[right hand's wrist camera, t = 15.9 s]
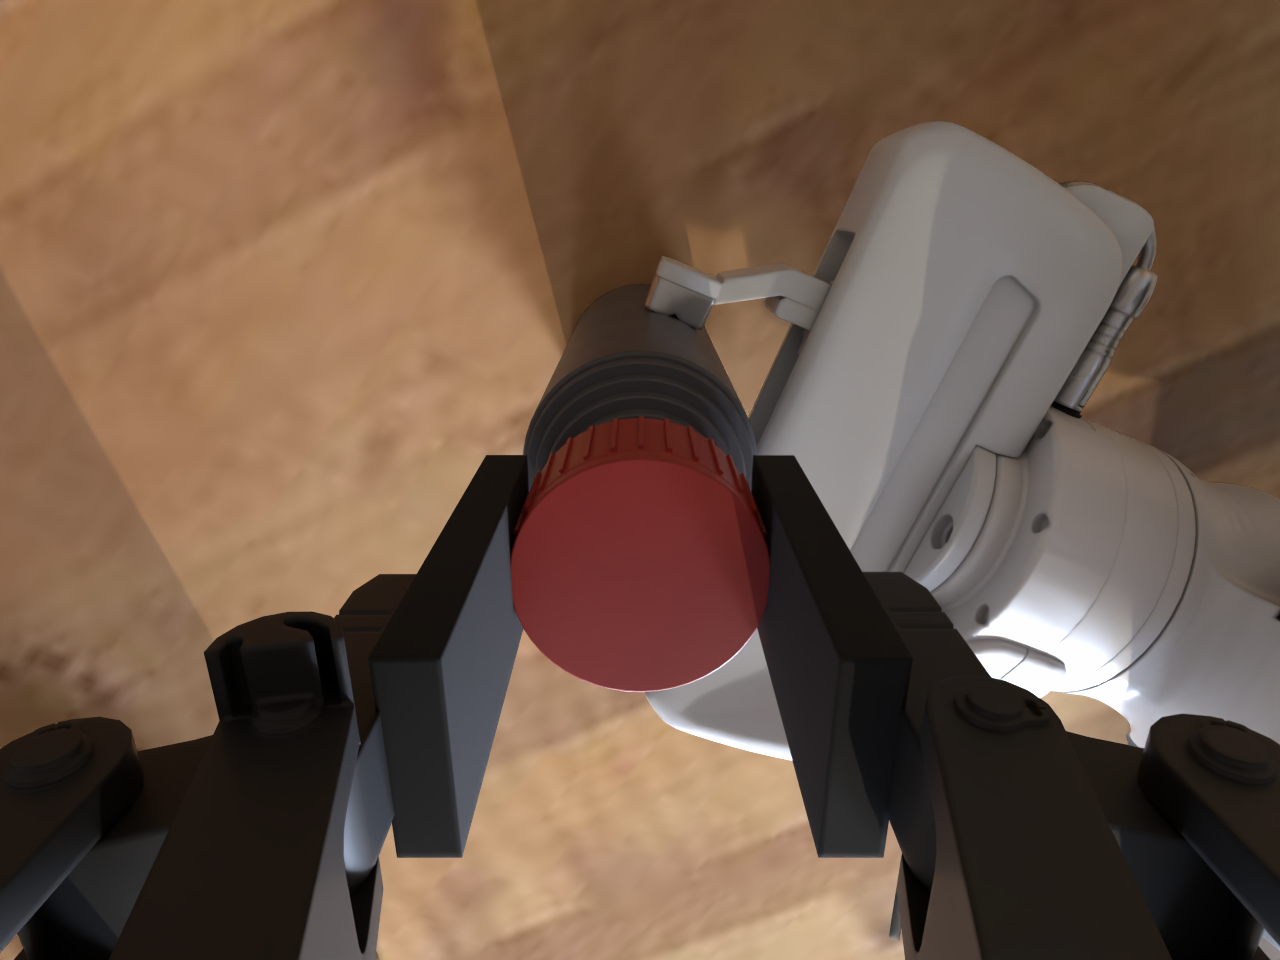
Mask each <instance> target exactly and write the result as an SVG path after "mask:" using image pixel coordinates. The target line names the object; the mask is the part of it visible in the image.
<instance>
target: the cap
mask: <svg viewBox="0 0 1280 960" xmlns="http://www.w3.org/2000/svg"><path fill="white" fill-rule="evenodd" d="M514 534H515V535H516V537H515V540H514V544H513V547H512V550H511V555H510V564H511V580H512V595H513V605H514V608H515V612H516V614H517V616H518V618H519V621H520V623H521V625H522V627H523V628H524V630H525V632H526V633H527V635H528V636H529V638H530V639H531V641H532V642H533V643H534V644H535V645H536V646H537V648H538V649H539V650H540V651H541V652H542V653H543V654H544V655H545V656H546V657H547V658H549V659H550V660H551V661H552V662H553V663H554V664H556V665H557V666H559V667H560V668H562V669H563V670H564V671H566V672H568V673H570V674H572V675H573V676H575V677H577V678H579V679H581V680H584V681H586V682H589V683H591V684H594V685H597V686H601V687H605V688H609V689H614V690H621V691H631V692H649V691H660V690H666V689H671V688H676V687H679V686H682V685H686V684H689V683H692V682H694V681H696V680H699V679H701V678H703V677H705V676H707V675H709V674H710V673H712V672H714V671H716V670H717V669H719V668H720V667H722V666H723V665H724V664H726V663H727V662H728V661H730V660H731V659H732V658H733V657H734V656H735V655H736V654H737V653H738V652H739V651H740V650H741V649H742V648H743V647H744V646H745V644H746V643H747V642H748V641H749V639H750V638H751V637H752V635H753V633H754V632H755V630H756V629H757V627H758V625H759V624H760V621H761V619H762V617H763V614H764V612H765V610H766V606H767V600H768V586H769V571H770V554H769V549H768V546H767V543H766V540H765V537H766V536H767V531H766V529H765V526H764V523H763V521H762V518H761V515H760V513H759V510H758V507H757V505H756V502H755V499H754V497H753V494H752V493H751V490H750V488H749V485H748V482H747V480H746V477H745V475H744V473H742V474H740V472H739V471H738V469H737V468H736V467H735V464H734V461H733V459H732V456H731V455H730V454H728V455H726V454H725V453H724V452H723V451H722V450H721V449H720V448H719V447H718V446H716V444H715V441H714V440H713V439H712V438H710V439H707V438H706V437H704V436H702V435H701V434H699V433H698V432H696V431H694V430H693V427H691V426H688V428H687V427H685V426H682V425H679V424H676V423H672V422H669V419H664V421H663V420H658V419H648V418H644V416H639V418H632V419H621V420H618V418H615V419H613V421H612V422H607V423H604V424H601V425H599V426H596V427H594V425H592V426H589V430H587V431H585V432H583V433H581V434H579V435H577V436H576V437H574V438H572V437H570V438H568V440H567V443H566V444H565V445H564V446H563V447H561V448H560V449H559V450H558V451H557V452H556V453H555V454H554V453H553V452H552V453H551V454H550V456H549V459H548V461H547V463H546V465H545V467H544V468H543V470H542V471H541V473H540V472H539V471H538V472H537V473H536V475H535V478H534V481H533V484H532V486H531V489H530V492H528V494H527V497H526V499H525V502H524V505H523V507H522V510H521V513H520V515H519V518H518V521H517V523H516V526H515V529H514Z"/></svg>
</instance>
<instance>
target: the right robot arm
mask: <svg viewBox="0 0 1280 960" xmlns="http://www.w3.org/2000/svg"><path fill="white" fill-rule="evenodd" d="M528 492H529V476H528V458H527V455H486V457H485V458H484V460H483V462H482V463H481V465H480V467H479V469H478V470H477V472H476V474H475V475H474V477H473V479H472V481H471V482H470V484H469V486H468V487H467V489H466V491H465V493H464V494H463V496H462V498H461V499H460V501H459V503H458V505H457V506H456V508H455V510H454V511H453V513H452V515H451V517H450V518H449V520H448V522H447V523H446V525H445V527H444V528H443V530H442V532H441V534H440V535H439V537H438V539H437V540H436V542H435V544H434V546H433V547H432V549H431V551H430V552H429V554H428V556H427V558H426V559H425V561H424V563H423V564H422V566H421V568H420V570H419V571H418V573H417V574H379V575H378V576H376V577H375V578H373V579H371V580H370V581H368V582H367V583H365V584H364V585H362V586H361V587H359V588H358V589H356V590H355V591H353V593H352V594H351V595H350V597H349V598H348V600H347V601H346V602H345V604H344V605H343V606H342V608H341V609H340V611H339V615H336V616H335V618H333V617H331V616H328V615H324V614H320V613H316V612H285V613H280V614H275V615H269V616H264V617H261V618H258V619H255V620H252V621H249V622H247V623H244V624H241V625H238V626H236V627H235V628H233V629H231V630H230V631H228V632H226V633H225V634H223V635H221V636H220V637H218V638H217V639H216V640H215V641H214V642H213V643H212V644H211V645H210V646H209V647H208V648H207V649H206V650H205V652H204V655H205V659H206V664H207V668H208V672H209V676H210V681H211V685H212V689H213V694H214V698H215V702H216V706H217V711H218V715H219V719H220V721H219V724H218V726H217V728H216V730H215V732H214V734H213V735H211V736H207V737H204V738H200V739H196V740H192V741H187V742H182V743H177V744H172V745H167V746H163V747H158V748H153V749H148V750H143V751H138V752H137V749H136V745H135V742H134V738H133V735H132V731H131V729H129V728H128V727H127V726H126V725H125V724H123V723H122V722H121V721H120V720H114V719H109V718H103V717H93V718H83V719H72V720H67V721H62V722H58V724H51V725H48V726H45V727H42V728H39V729H37V730H35V731H34V732H32V733H30V734H28V735H25V736H23V737H21V738H19V739H17V740H14V741H12V742H10V743H9V744H7V745H6V746H4V747H3V748H1V749H0V952H1V951H2V950H3V949H4V948H5V947H6V946H7V944H8V943H9V942H10V941H11V940H12V939H13V938H14V936H15V935H16V934H17V933H18V936H19V939H20V941H21V944H22V946H23V950H22V951H21V952H20V953H19V954H18V956H17V957H16V958H15V959H14V960H379V957H378V955H377V952H376V946H377V938H378V929H379V921H380V912H381V904H382V895H383V883H382V876H381V869H380V863H379V853H380V851H381V848H382V846H383V843H384V841H385V838H386V836H387V833H388V831H389V828H390V825H391V823H392V826H393V833H394V840H395V847H396V853H397V858H434V857H462V856H463V852H464V848H465V844H466V841H467V837H468V833H469V829H470V826H471V822H472V818H473V814H474V811H475V807H476V803H477V800H478V796H479V792H480V788H481V785H482V781H483V777H484V773H485V770H486V766H487V762H488V758H489V755H490V751H491V747H492V743H493V740H494V736H495V732H496V728H497V725H498V721H499V717H500V713H501V710H502V706H503V702H504V699H505V695H506V691H507V687H508V684H509V680H510V676H511V672H512V669H513V665H514V661H515V657H516V654H517V650H518V646H519V642H520V639H521V635H522V631H523V627H522V625H521V623H520V621H519V618H518V616H517V614H516V612H515V608H514V605H513V595H512V580H511V564H510V555H511V550H512V547H513V544H514V540H515V537H516V535H515V534H514V529H515V526H516V523H517V521H518V518H519V515H520V513H521V510H522V507H523V505H524V502H525V499H526V497H527V494H528ZM751 493H752V494H753V497H754V499H755V502H756V505H757V507H758V510H759V513H760V515H761V518H762V521H763V523H764V526H765V529H766V531H767V536H766V537H765V540H766V543H767V546H768V549H769V554H770V571H769V586H768V600H767V606H766V610H765V612H764V614H763V617H762V619H761V621H760V624H759V625H758V627H757V630H758V633H759V637H760V641H761V645H762V648H763V652H764V656H765V660H766V663H767V667H768V671H769V674H770V678H771V682H772V686H773V689H774V693H775V697H776V701H777V704H778V708H779V712H780V716H781V719H782V723H783V727H784V731H785V734H786V738H787V742H788V745H789V749H790V753H791V757H792V760H793V764H794V768H795V772H796V775H797V779H798V783H799V787H800V790H801V794H802V798H803V802H804V805H805V809H806V813H807V816H808V820H809V824H810V828H811V831H812V835H813V839H814V843H815V846H816V850H817V854H818V857H857V858H883V857H884V850H885V843H886V836H887V830H888V823H889V820H890V823H891V825H892V828H893V830H894V833H895V835H896V838H897V841H898V843H899V846H900V848H901V851H902V856H901V863H900V869H899V875H898V882H897V888H896V894H895V901H894V907H893V913H892V920H891V927H890V934H889V938H890V939H896V940H899V938H900V933H901V927H902V936H903V944H904V953H905V960H1270V959H1269V957H1268V956H1267V955H1266V954H1265V953H1264V952H1263V950H1262V949H1261V948H1260V947H1259V946H1258V945H1259V943H1260V940H1261V938H1262V935H1263V933H1264V930H1266V931H1267V932H1268V933H1269V935H1270V936H1271V937H1272V938H1273V939H1274V940H1275V941H1276V943H1277V944H1278V945H1279V946H1280V744H1278V743H1277V742H1275V741H1274V740H1272V739H1271V738H1269V737H1266V736H1264V735H1262V734H1260V733H1258V732H1255V731H1253V730H1251V729H1249V728H1247V727H1246V726H1244V725H1242V724H1239V723H1235V722H1232V721H1229V720H1227V721H1225V720H1224V719H1222V718H1217V717H1212V716H1203V715H1193V714H1183V713H1182V714H1176V715H1171V716H1165V717H1161V718H1160V719H1159V720H1158V721H1156V722H1155V723H1154V724H1153V725H1152V726H1151V727H1150V730H1149V734H1148V737H1147V741H1146V744H1145V748H1140V747H1135V746H1130V745H1125V744H1120V743H1115V742H1110V741H1105V740H1100V739H1095V738H1090V737H1086V736H1082V735H1078V734H1075V733H1071V732H1067V731H1065V729H1064V726H1063V724H1062V722H1061V720H1060V719H1059V717H1058V716H1057V715H1056V713H1055V712H1054V711H1053V710H1052V708H1051V707H1050V706H1049V704H1047V703H1046V702H1044V701H1043V700H1042V699H1040V698H1039V697H1037V696H1036V695H1034V694H1033V693H1032V692H1030V691H1029V690H1026V689H1024V688H1022V687H1019V686H1017V685H1015V684H1012V683H1010V682H1007V681H1005V680H1001V679H996V678H992V677H991V676H990V674H989V673H988V672H987V670H986V669H985V667H984V666H983V665H982V663H981V662H980V661H979V659H978V658H977V656H976V655H975V654H974V652H973V651H972V650H971V648H970V647H969V645H968V644H967V643H966V641H965V640H964V638H963V637H962V636H961V634H960V633H959V632H958V630H957V629H954V628H953V623H952V622H951V621H950V619H949V618H948V616H947V615H946V614H945V612H942V608H941V607H940V605H939V604H938V603H937V601H936V600H935V598H934V597H933V596H932V594H931V593H930V592H929V590H928V589H927V588H926V587H924V586H923V585H921V584H919V583H918V582H916V581H915V580H913V579H912V578H910V577H909V576H907V575H905V574H904V573H902V572H862V570H861V569H860V567H859V565H858V564H857V562H856V560H855V558H854V557H853V555H852V553H851V552H850V550H849V548H848V546H847V545H846V543H845V541H844V540H843V538H842V536H841V535H840V533H839V531H838V529H837V528H836V526H835V524H834V523H833V521H832V519H831V517H830V516H829V514H828V512H827V511H826V509H825V507H824V505H823V504H822V502H821V500H820V499H819V497H818V495H817V493H816V492H815V490H814V488H813V487H812V485H811V483H810V482H809V480H808V478H807V476H806V475H805V473H804V471H803V470H802V468H801V466H800V464H799V463H798V461H797V459H796V458H795V456H794V455H753V466H752V484H751Z"/></svg>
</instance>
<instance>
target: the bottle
mask: <svg viewBox="0 0 1280 960" xmlns="http://www.w3.org/2000/svg"><path fill="white" fill-rule="evenodd" d="M650 287H651V285H642V284H641V285H629V286H623V287H620V288H617V289H614V290H612V291H610V292H608V293H606V294H604V295H603V296H601V297H600V298H598V299H597V300H596V301H595V302H593V303H592V304H591V305H590V306H589V307H588V308H587V310H586V311H585V312H584V314H583V315H582V316H581V318H580V320H579V322H578V324H577V326H576V328H575V330H574V332H573V334H572V336H571V338H570V340H569V342H568V344H567V347H566V349H565V351H564V353H563V355H562V357H561V359H560V361H559V363H558V365H557V367H556V369H555V372H554V374H553V376H552V378H551V380H550V382H549V384H548V386H547V388H546V390H545V392H544V395H543V397H542V399H541V401H540V403H539V405H538V407H537V409H536V411H535V413H534V415H533V418H532V420H531V422H530V425H529V428H528V431H527V434H526V439H525V444H524V451H523V455H527V458H528V476H529V492H530V489H531V486H532V484H533V481H534V478H535V475H536V473H537V472H538V471H539V472H540V473H541V471H542V470H543V468H544V467H545V465H546V463H547V461H548V459H549V456H550V454H551V453H552V452H553V453H554V454H555V453H556V452H557V451H558V450H559V449H560V448H561V447H563V446H564V445H565V444H566V443H567V440H568V438H570V437H572V438H574V437H576V436H577V435H579V434H581V433H583V432H585V431H587V430H589V426H592V425H594V427H596V426H599V425H601V424H604V423H607V422H612V421H613V419H615V418H618V420H621V419H632V418H639V416H644V418H648V419H658V420H663V421H664V419H669V422H672V423H676V424H679V425H682V426H685V427H687V428H688V426H691V427H693V430H694V431H696V432H698V433H699V434H701V435H702V436H704V437H706V438H707V439H710V438H712V439H713V440H714V441H715V444H716V446H718V447H719V448H720V449H721V450H722V451H723V452H724V453H725V454H726V455H728V454H730V455H731V456H732V459H733V461H734V464H735V467H736V468H737V469H738V471H739V472H740V474H742V473H744V475H745V477H746V480H747V482H748V485H749V488H750V490H751V484H752V466H753V455H757V451H756V443H755V438H754V434H753V431H752V427H751V424H750V422H749V420H748V417H747V415H746V413H745V411H744V409H743V406H742V404H741V402H740V400H739V398H738V396H737V394H736V392H735V390H734V388H733V386H732V384H731V381H730V379H729V377H728V375H727V373H726V371H725V369H724V367H723V365H722V363H721V361H720V359H719V356H718V354H717V352H716V350H715V348H714V346H713V344H712V342H711V340H710V338H709V336H708V334H707V331H706V329H705V327H704V325H703V328H702V330H700V329H697V328H695V327H692V326H689V325H687V324H685V323H683V322H681V321H680V320H679V319H678V317H677V316H676V314H673V315H669V316H667V315H663V314H659V313H657V312H655V311H653V310H650V309H648V308H647V307H646V306H645V301H646V298H647V295H648V292H649V289H650Z"/></svg>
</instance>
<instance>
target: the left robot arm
mask: <svg viewBox="0 0 1280 960" xmlns="http://www.w3.org/2000/svg"><path fill="white" fill-rule="evenodd" d="M1156 245H1157V239H1156V232H1155V228H1154V220H1153V218H1152V217H1151V215H1150V214H1149V213H1148V212H1147V211H1146V210H1145V209H1144V208H1142V207H1141V206H1140V205H1139V204H1137V203H1136V202H1135V201H1133V200H1130V199H1128V198H1126V197H1124V196H1122V195H1120V194H1117V193H1115V192H1113V191H1111V190H1109V189H1106V188H1104V187H1102V186H1100V185H1098V184H1095V183H1092V182H1088V181H1068V182H1063V183H1060V184H1058V183H1057V182H1055V181H1054V180H1053V179H1051V178H1050V177H1048V176H1047V175H1045V174H1044V173H1042V172H1041V171H1039V170H1038V169H1036V168H1035V167H1034V166H1032V165H1030V164H1029V163H1027V162H1026V161H1024V160H1022V159H1021V158H1019V157H1018V156H1016V155H1014V154H1013V153H1011V152H1009V151H1008V150H1006V149H1004V148H1003V147H1001V146H999V145H997V144H996V143H994V142H992V141H990V140H988V139H986V138H985V137H983V136H981V135H979V134H977V133H975V132H973V131H971V130H969V129H967V128H965V127H962V126H960V125H958V124H955V123H952V122H944V121H931V122H925V123H921V124H917V125H913V126H910V127H908V128H905V129H902V130H900V131H898V132H896V133H893V134H891V135H889V136H887V137H885V138H882V139H881V140H879V141H878V142H876V143H875V145H874V146H873V147H872V149H871V150H870V152H869V154H868V156H867V158H866V161H865V163H864V165H863V167H862V169H861V171H860V174H859V176H858V178H857V180H856V182H855V185H854V187H853V189H852V191H851V193H850V196H849V198H848V200H847V202H846V204H845V206H844V209H843V211H842V213H841V215H840V217H839V220H838V222H837V224H836V226H835V228H834V231H833V233H832V235H831V237H830V239H829V242H828V244H827V246H826V248H825V250H824V253H823V255H822V257H821V259H820V261H819V263H818V266H817V268H816V270H815V272H814V274H813V276H812V275H810V274H807V273H805V272H802V271H800V270H797V269H795V268H792V267H790V266H787V265H785V264H782V263H775V264H769V265H763V266H756V267H750V268H744V269H738V270H732V271H726V272H719V273H718V274H717V276H714V275H711V274H709V273H706V272H704V271H701V270H699V269H696V268H694V267H691V266H689V265H687V264H684V263H682V262H679V261H677V260H674V259H671V258H668V257H665V256H662V257H661V260H660V263H659V265H658V268H657V271H656V273H655V276H654V278H653V281H652V284H651V287H650V289H649V292H648V295H647V298H646V301H645V306H646V307H647V308H648V309H650V310H653V311H655V312H657V313H659V314H663V315H667V316H669V315H673V314H676V316H677V317H678V319H679V320H680V321H681V322H683V323H685V324H687V325H689V326H692V327H695V328H697V329H700V330H702V328H703V325H704V323H705V321H706V318H707V316H708V314H709V312H710V309H711V307H712V305H713V304H714V305H717V304H725V303H732V302H739V301H746V300H753V299H760V298H766V299H765V301H764V302H765V305H766V307H767V308H768V309H769V310H770V311H771V312H773V313H774V314H775V315H776V316H777V317H779V318H781V319H784V320H786V321H789V322H791V325H790V327H789V329H788V331H787V334H786V336H785V338H784V340H783V342H782V345H781V347H780V349H779V351H778V353H777V356H776V358H775V360H774V362H773V364H772V366H771V369H770V371H769V373H768V375H767V377H766V380H765V382H764V384H763V386H762V388H761V391H760V393H759V395H758V397H757V399H756V402H755V404H754V406H753V408H752V410H751V413H750V415H749V417H748V420H749V422H750V424H751V427H752V431H753V434H754V438H755V443H756V451H757V455H794V456H795V458H796V459H797V461H798V463H799V464H800V466H801V468H802V470H803V471H804V473H805V475H806V476H807V478H808V480H809V482H810V483H811V485H812V487H813V488H814V490H815V492H816V493H817V495H818V497H819V499H820V500H821V502H822V504H823V505H824V507H825V509H826V511H827V512H828V514H829V516H830V517H831V519H832V521H833V523H834V524H835V526H836V528H837V529H838V531H839V533H840V535H841V536H842V538H843V540H844V541H845V543H846V545H847V546H848V548H849V550H850V552H851V553H852V555H853V557H854V558H855V560H856V562H857V564H858V565H859V567H860V569H861V570H862V572H902V573H904V574H905V575H907V576H909V577H910V578H912V579H913V580H915V581H916V582H918V583H919V584H921V585H923V586H924V587H926V588H927V589H928V590H929V592H930V593H931V594H932V596H933V597H934V598H935V600H936V601H937V603H938V604H939V605H940V607H941V608H942V612H945V614H946V615H947V616H948V618H949V619H950V621H951V622H952V623H953V628H954V629H957V630H958V632H959V633H960V634H961V636H962V637H963V638H964V640H965V641H966V643H967V644H968V645H969V647H970V648H971V650H972V651H973V652H974V654H975V655H976V656H977V658H978V659H979V661H980V662H981V663H982V665H983V666H984V667H985V669H986V670H987V672H988V673H989V674H990V676H991V677H992V678H996V679H1001V680H1005V681H1007V682H1010V683H1012V684H1015V685H1017V686H1019V687H1022V688H1024V689H1026V690H1029V691H1030V692H1032V693H1033V694H1034V695H1036V696H1037V697H1039V698H1041V697H1043V696H1044V695H1046V694H1047V693H1049V692H1050V691H1052V692H1060V693H1070V694H1079V695H1085V696H1088V697H1091V698H1094V699H1097V700H1099V701H1102V702H1103V703H1105V704H1107V705H1109V706H1110V707H1112V708H1113V709H1115V710H1116V711H1118V712H1119V713H1120V714H1121V715H1123V716H1124V717H1125V718H1126V719H1127V720H1128V722H1129V724H1130V726H1131V732H1130V733H1129V734H1127V740H1128V744H1129V745H1130V746H1135V747H1140V748H1145V744H1146V741H1147V737H1148V734H1149V730H1150V727H1151V726H1152V725H1153V724H1154V723H1155V722H1156V721H1158V720H1159V719H1160V718H1161V717H1165V716H1171V715H1176V714H1182V713H1183V714H1193V715H1203V716H1212V717H1217V718H1222V719H1224V720H1225V721H1227V720H1229V721H1232V722H1235V723H1239V724H1242V725H1244V726H1246V727H1247V728H1249V729H1251V730H1253V731H1255V732H1258V733H1260V734H1262V735H1264V736H1266V737H1269V738H1271V739H1272V740H1274V741H1275V742H1277V743H1278V744H1280V498H1278V497H1275V496H1273V495H1271V494H1268V493H1266V492H1263V491H1260V490H1257V489H1254V488H1250V487H1246V486H1241V485H1236V484H1229V483H1217V482H1207V481H1203V480H1201V479H1199V478H1198V477H1197V476H1196V475H1195V474H1194V473H1193V472H1192V471H1191V470H1189V469H1188V468H1187V467H1186V466H1185V465H1183V464H1182V463H1181V462H1180V461H1178V460H1177V459H1176V458H1174V457H1172V456H1171V455H1169V454H1167V453H1165V452H1163V451H1162V450H1160V449H1158V448H1156V447H1153V446H1151V445H1148V444H1146V443H1143V442H1141V441H1138V440H1136V439H1134V438H1131V437H1129V436H1126V435H1124V434H1121V433H1119V432H1116V431H1114V430H1112V429H1109V428H1107V427H1104V426H1102V425H1099V424H1097V423H1094V422H1092V421H1089V420H1087V419H1085V418H1083V417H1082V416H1081V415H1079V414H1080V413H1081V411H1082V409H1083V408H1084V406H1085V404H1086V403H1087V401H1088V400H1089V398H1090V396H1091V395H1092V393H1093V391H1094V390H1095V388H1096V386H1097V385H1098V383H1099V382H1100V380H1101V378H1102V377H1103V375H1104V373H1105V372H1106V370H1107V368H1108V366H1109V364H1110V362H1111V360H1110V359H1111V358H1113V355H1114V353H1115V351H1114V350H1115V349H1117V347H1118V345H1119V342H1118V341H1120V340H1121V339H1122V337H1123V335H1124V332H1126V330H1127V329H1128V327H1129V326H1130V324H1131V323H1132V321H1133V319H1137V318H1138V316H1139V315H1140V314H1141V313H1142V311H1143V310H1144V308H1145V307H1146V305H1147V303H1148V301H1149V300H1150V298H1151V296H1152V294H1153V291H1154V289H1155V286H1156V284H1157V280H1158V276H1157V275H1156V274H1155V273H1153V272H1151V271H1150V270H1151V268H1152V265H1153V262H1154V259H1155V255H1156ZM1138 254H1139V258H1138V261H1137V264H1136V266H1133V265H1132V264H1133V263H1134V261H1135V259H1136V258H1137V256H1138ZM644 693H645V696H646V698H647V700H648V701H649V703H650V704H651V706H652V707H653V708H654V710H655V711H656V712H657V714H658V715H659V716H660V718H661V719H662V720H663V721H664V722H666V723H667V724H669V725H671V726H673V727H675V728H677V729H679V730H682V731H684V732H687V733H690V734H693V735H696V736H699V737H702V738H705V739H708V740H711V741H715V742H718V743H722V744H725V745H729V746H732V747H736V748H740V749H743V750H747V751H751V752H755V753H759V754H764V755H768V756H773V757H777V758H782V759H787V760H792V757H791V753H790V749H789V745H788V742H787V738H786V734H785V731H784V727H783V723H782V719H781V716H780V712H779V708H778V704H777V701H776V697H775V693H774V689H773V686H772V682H771V678H770V674H769V671H768V667H767V663H766V660H765V656H764V652H763V648H762V645H761V641H760V637H759V633H758V630H757V629H756V630H755V632H754V633H753V635H752V637H751V638H750V639H749V641H748V642H747V643H746V644H745V646H744V647H743V648H742V649H741V650H740V651H739V652H738V653H737V654H736V655H735V656H734V657H733V658H732V659H731V660H730V661H728V662H727V663H726V664H724V665H723V666H722V667H720V668H719V669H717V670H716V671H714V672H712V673H710V674H709V675H707V676H705V677H703V678H701V679H699V680H696V681H694V682H692V683H689V684H686V685H682V686H679V687H676V688H671V689H666V690H660V691H649V692H644ZM792 761H793V760H792ZM1258 946H1259V947H1260V948H1261V949H1262V950H1263V952H1264V953H1265V954H1266V955H1267V956H1268V957H1269V959H1270V960H1280V946H1279V945H1278V944H1277V943H1276V941H1275V940H1274V939H1273V938H1272V937H1271V936H1270V935H1269V933H1268V932H1267V931H1266V930H1264V933H1263V935H1262V938H1261V940H1260V943H1259V945H1258Z"/></svg>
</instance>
